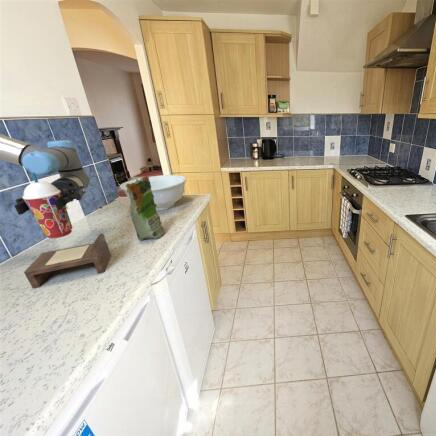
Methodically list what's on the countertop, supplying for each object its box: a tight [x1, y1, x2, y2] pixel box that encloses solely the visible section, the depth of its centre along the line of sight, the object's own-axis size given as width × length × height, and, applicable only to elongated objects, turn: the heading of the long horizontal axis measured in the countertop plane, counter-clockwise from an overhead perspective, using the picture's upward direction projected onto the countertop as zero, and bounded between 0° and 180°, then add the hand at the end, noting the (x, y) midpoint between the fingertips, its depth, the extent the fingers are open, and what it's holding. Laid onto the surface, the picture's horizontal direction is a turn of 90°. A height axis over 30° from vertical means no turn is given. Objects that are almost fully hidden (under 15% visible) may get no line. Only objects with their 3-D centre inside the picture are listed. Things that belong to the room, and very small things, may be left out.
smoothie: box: [21, 172, 73, 239], centre depth 74 cm, size 8×8×20 cm
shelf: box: [23, 233, 112, 289], centre depth 80 cm, size 18×12×9 cm, turn 115°
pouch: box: [126, 176, 165, 241], centre depth 98 cm, size 11×12×25 cm
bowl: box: [119, 174, 187, 212], centre depth 135 cm, size 32×32×15 cm
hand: (38, 207), depth 69 cm, fingers closed on smoothie, 8 cm apart
